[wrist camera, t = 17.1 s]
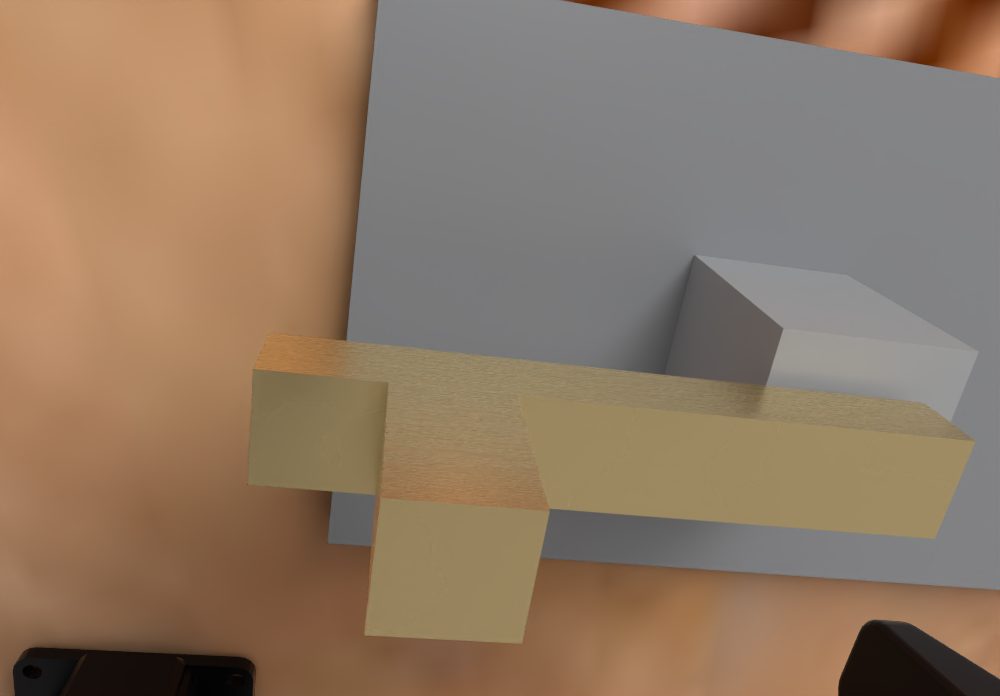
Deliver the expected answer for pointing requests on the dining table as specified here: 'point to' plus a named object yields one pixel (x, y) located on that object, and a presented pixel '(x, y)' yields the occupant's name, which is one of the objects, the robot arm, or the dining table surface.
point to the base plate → (690, 242)
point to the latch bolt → (569, 464)
